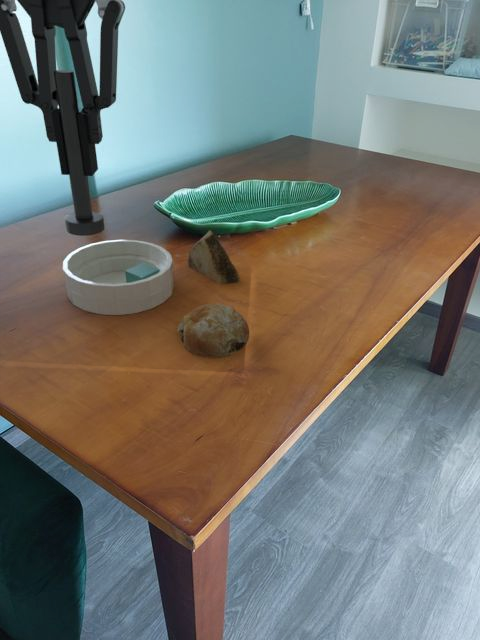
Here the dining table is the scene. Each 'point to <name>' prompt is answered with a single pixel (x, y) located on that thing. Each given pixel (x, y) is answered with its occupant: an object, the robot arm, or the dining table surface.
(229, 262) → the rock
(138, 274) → the block
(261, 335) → the dining table surface
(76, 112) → the stirrer
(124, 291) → the bowl
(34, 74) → the robot arm
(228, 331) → the bread roll
